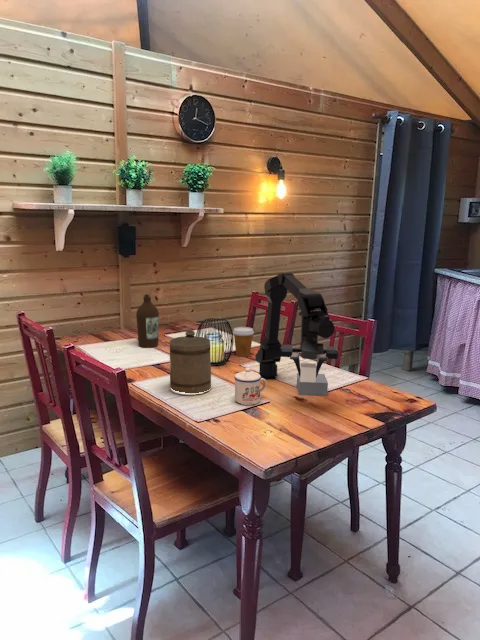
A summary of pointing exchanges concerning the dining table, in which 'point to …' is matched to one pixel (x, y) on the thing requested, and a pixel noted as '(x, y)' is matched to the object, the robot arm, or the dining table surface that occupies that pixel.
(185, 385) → the wooden container
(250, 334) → the disposable coffee cup
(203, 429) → the dining table surface
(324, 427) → the dining table surface
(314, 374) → the cream cube
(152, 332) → the olive oil
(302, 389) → the gray square block
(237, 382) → the teacup with lid
